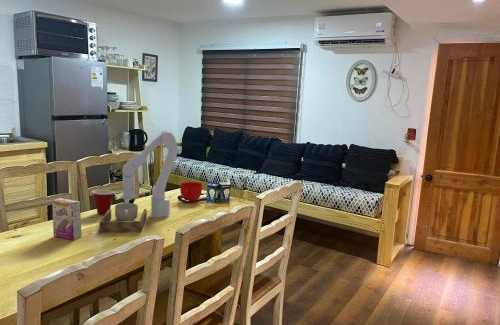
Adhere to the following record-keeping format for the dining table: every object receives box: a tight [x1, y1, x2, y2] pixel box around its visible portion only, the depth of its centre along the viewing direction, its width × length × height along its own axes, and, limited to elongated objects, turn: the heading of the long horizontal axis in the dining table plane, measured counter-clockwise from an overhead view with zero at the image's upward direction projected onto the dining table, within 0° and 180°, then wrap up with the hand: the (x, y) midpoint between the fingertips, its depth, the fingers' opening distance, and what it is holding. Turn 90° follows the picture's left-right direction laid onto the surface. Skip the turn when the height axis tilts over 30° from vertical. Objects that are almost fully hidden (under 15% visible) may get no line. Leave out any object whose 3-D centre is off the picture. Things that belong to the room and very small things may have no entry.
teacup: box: [114, 202, 139, 221], centre depth 191 cm, size 14×11×8 cm
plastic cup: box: [91, 189, 115, 216], centre depth 202 cm, size 11×11×12 cm
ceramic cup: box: [179, 181, 203, 202], centre depth 229 cm, size 13×17×10 cm
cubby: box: [98, 208, 148, 234], centre depth 186 cm, size 18×19×5 cm
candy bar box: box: [51, 197, 82, 241], centre depth 168 cm, size 11×5×16 cm, turn 71°
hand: (129, 213), depth 200 cm, fingers closed
